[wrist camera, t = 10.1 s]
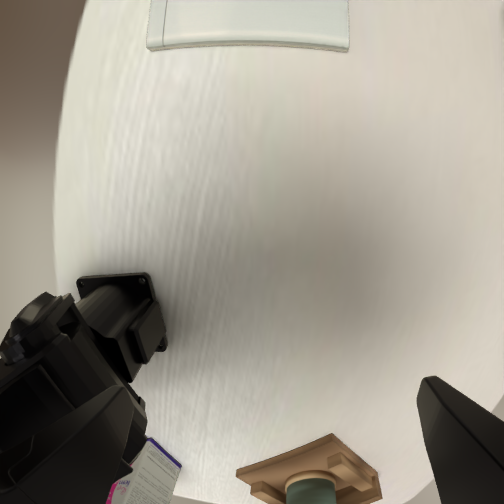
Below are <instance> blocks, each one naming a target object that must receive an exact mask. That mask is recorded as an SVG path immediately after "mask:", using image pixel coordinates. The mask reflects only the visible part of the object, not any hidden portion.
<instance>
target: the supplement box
mask: <svg viewBox="0 0 504 504" xmlns="http://www.w3.org/2000/svg"><path fill="white" fill-rule="evenodd" d="M130 466H131V467H132V468H133V472H132V473H130V474H129V475H127V476H125V477H123V478H121V479H119V480H118V481H116V482H115V483H114V484H112V487H111V490H110V493H109V496H108V499H107V502H106V504H169V503H170V500H171V497H172V494H173V491H174V488H175V484H176V481H177V478H178V475H179V472H180V469H181V467H182V466H181V464H180V463H178V462H177V461H176V460H175V459H174V458H173V457H172V456H170V455H169V454H168V453H167V452H166V451H165V450H164V449H163V448H162V447H161V446H160V445H159V444H158V443H156V442H155V441H154V440H153V439H151V438H149V439H147V442H146V445H145V446H144V448H143V450H142V451H141V453H140V455H139V456H138V458H137V459H136V460H135V461H134V462H133V463H132V464H131V465H130Z"/></svg>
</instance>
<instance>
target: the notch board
mask: <svg viewBox="0 0 504 504" xmlns="http://www.w3.org/2000/svg"><path fill="white" fill-rule="evenodd" d="M307 470H323V471H328V472H330V473H332V474H333V475H334V476H335V480H336V488H335V494H336V504H370V503H373V502H375V501H378V500H380V499H383V498H382V493H381V488H380V483H379V478H378V474H377V472H376V471H375V470H374V469H373V468H372V467H370V466H369V465H368V464H367V463H366V462H364V461H363V460H362V459H361V458H360V457H359V456H357V455H356V454H355V453H354V452H353V451H352V450H350V449H349V448H348V447H347V446H346V445H345V444H343V443H342V442H341V441H340V440H339V439H338V438H337V437H336V436H334V435H333V434H332V433H331V434H329V435H327V436H325V437H323V438H320V439H318V440H316V441H314V442H311V443H309V444H306V445H304V446H302V447H299V448H297V449H294V450H292V451H289V452H287V453H284V454H281V455H279V456H276V457H273V458H270V459H268V460H265V461H262V462H259V463H256V464H253V465H250V466H247V467H244V468H241V469H237V471H236V477H237V478H239V479H240V480H242V481H244V482H245V483H247V484H249V485H250V486H251V492H250V494H251V495H253V496H255V497H256V498H258V499H260V500H262V501H264V502H266V503H268V504H286V492H285V482H286V479H287V478H288V477H290V476H291V475H293V474H295V473H298V472H302V471H307Z"/></svg>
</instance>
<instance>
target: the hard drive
mask: <svg viewBox="0 0 504 504" xmlns="http://www.w3.org/2000/svg"><path fill="white" fill-rule="evenodd" d="M224 45H265V46H287V47H301V48H313V49H323V50H331V51H339V52H347V51H348V49H349V8H348V0H151V4H150V12H149V20H148V28H147V38H146V48H147V49H149V50H150V51H155V50H164V49H174V48H186V47H200V46H224Z"/></svg>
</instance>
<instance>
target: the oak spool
mask: <svg viewBox="0 0 504 504" xmlns="http://www.w3.org/2000/svg"><path fill="white" fill-rule="evenodd" d="M335 488H336V480H335V476H334V475H333V474H332V473H330V472H328V471H323V470H307V471H302V472H298V473H295V474H293V475H291V476H290V477H288V478H287V479H286V482H285V492H286V504H336V494H335Z"/></svg>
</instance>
